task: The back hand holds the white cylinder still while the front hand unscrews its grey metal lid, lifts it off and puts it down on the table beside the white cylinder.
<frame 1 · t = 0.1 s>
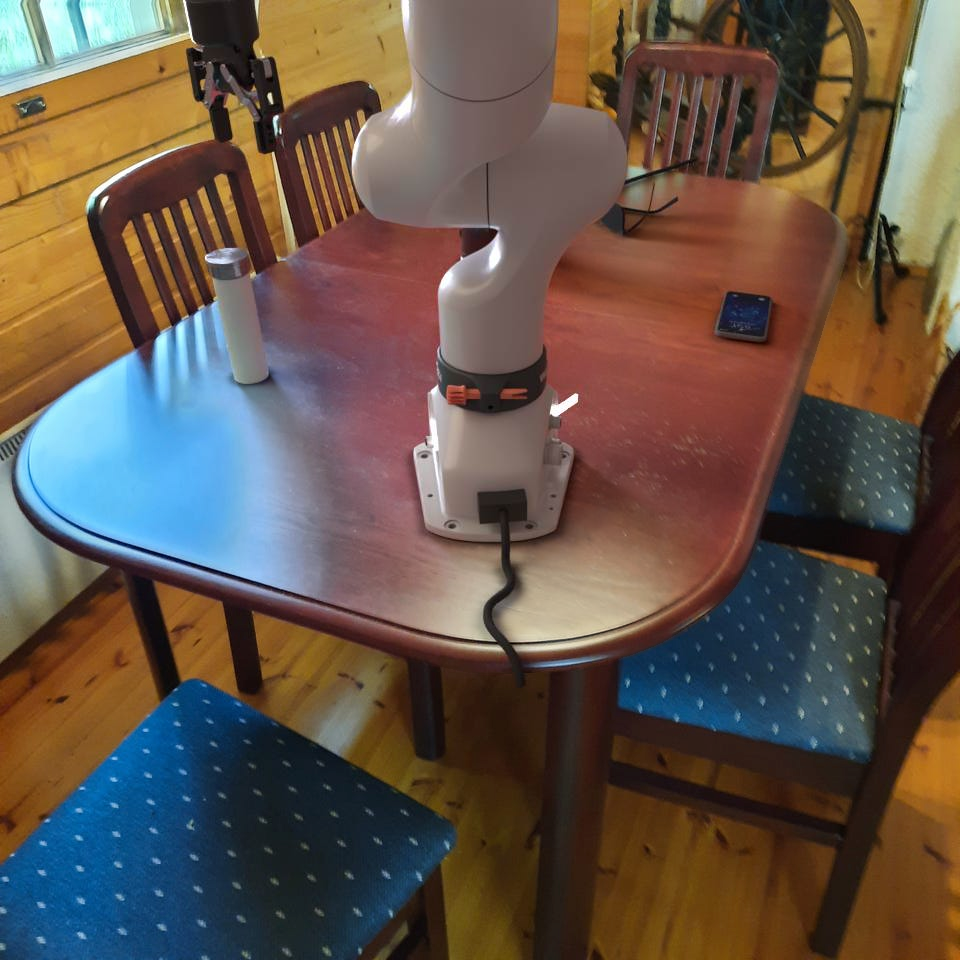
back hand: (245, 146, 103), 29 cm above the table, tool pointing down, fingers open, 8 cm apart
lid: (227, 258, 108), point 17 cm above the table, screwed on, not yet turned
smartphone: (743, 319, 128), on the table
white cylinder: (251, 375, 118), on the table
sunglasses: (633, 219, 163), on the table
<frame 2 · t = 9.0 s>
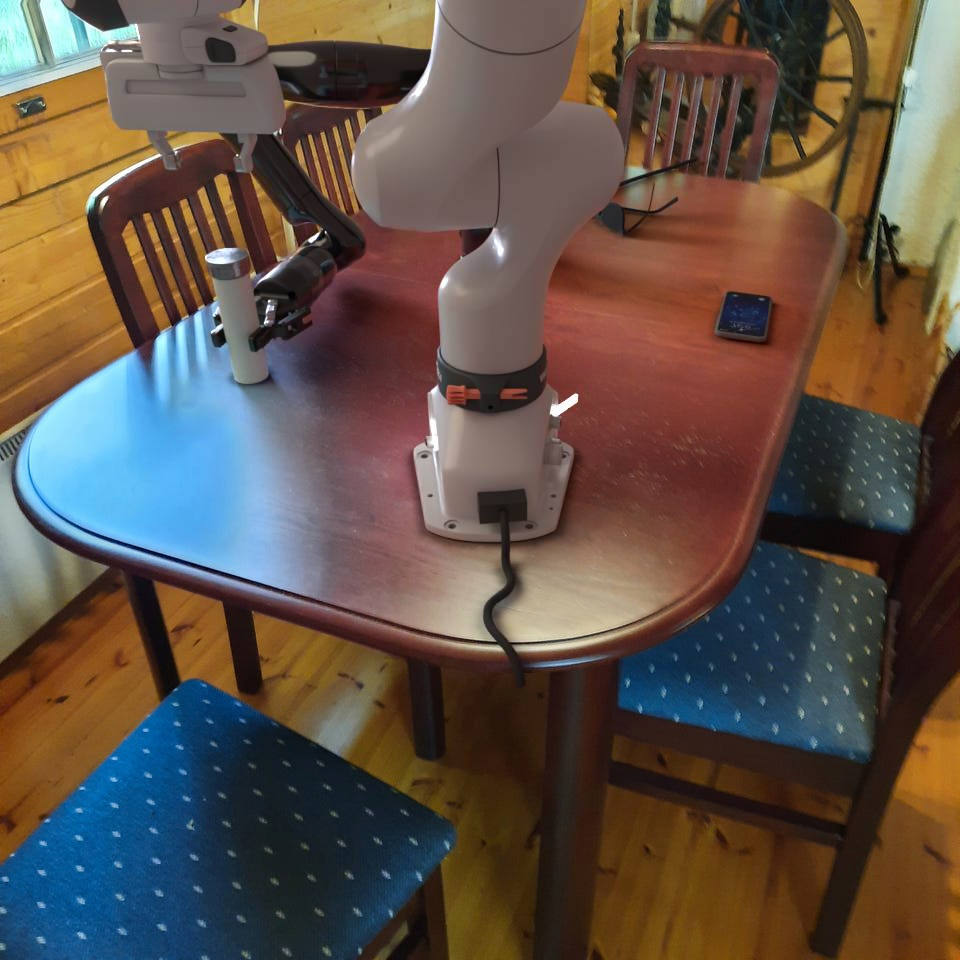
front hand: (209, 170, 101), 28 cm above the table, tool pointing down, fingers open, 8 cm apart
back hand: (233, 343, 112), 6 cm above the table, tool horizontal, fingers closed on white cylinder, 4 cm apart
white cylinder: (251, 375, 118), on the table, touching back hand
everything else where it was.
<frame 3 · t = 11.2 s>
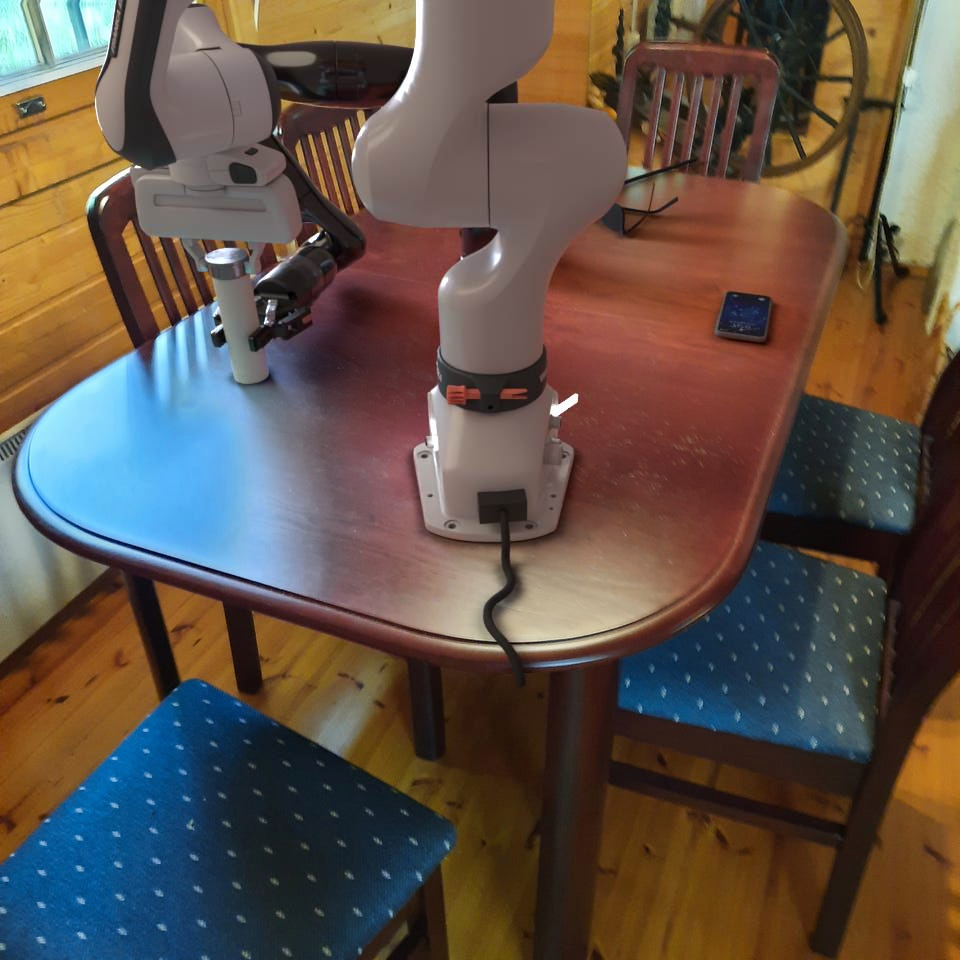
front hand: (230, 271, 109), 15 cm above the table, tool pointing down, fingers closed on lid, 5 cm apart
back hand: (233, 343, 112), 6 cm above the table, tool horizontal, fingers closed on white cylinder, 4 cm apart
lid: (227, 258, 108), point 17 cm above the table, screwed on, not yet turned, touching front hand
white cylinder: (251, 375, 118), on the table, touching back hand
everything else where it was.
when the front hand's fingers open (15 cm above the table, at t = 12.4 s): lid stays where it is, point 17 cm above the table.
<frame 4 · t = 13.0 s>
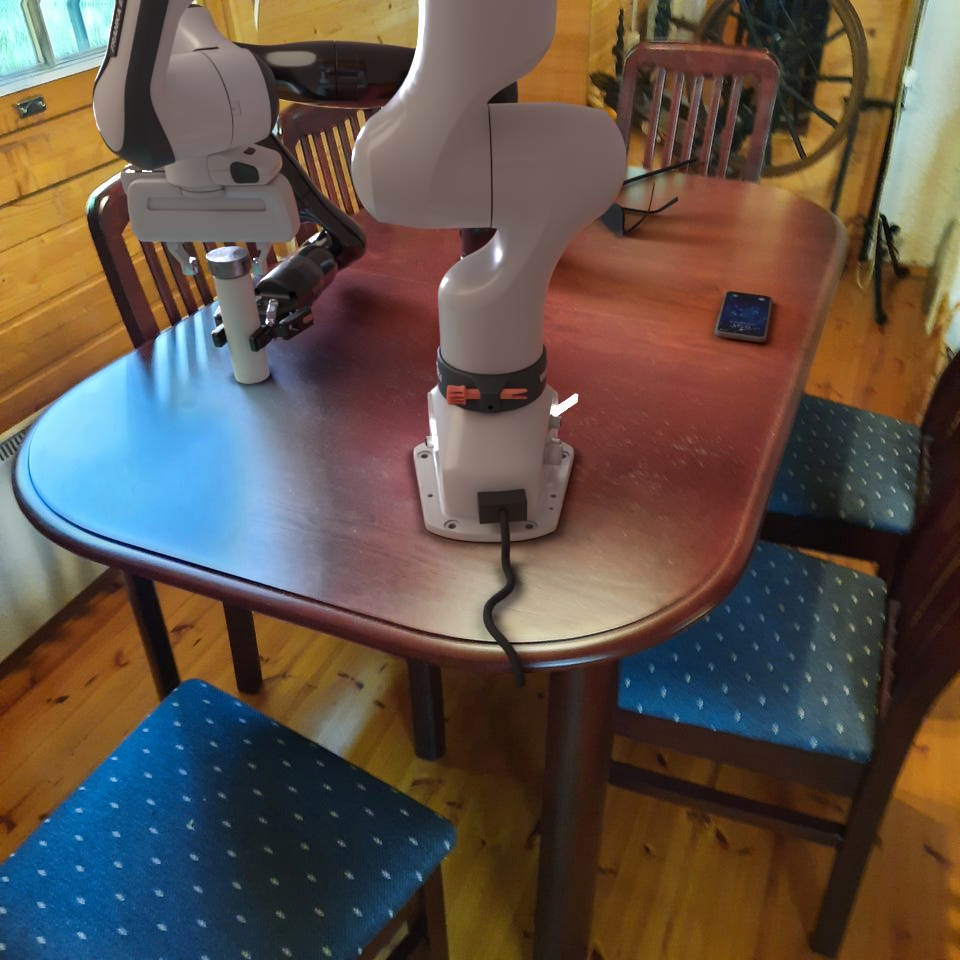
front hand: (225, 273, 108), 15 cm above the table, tool pointing down, fingers open, 8 cm apart
back hand: (234, 343, 112), 6 cm above the table, tool horizontal, fingers closed on white cylinder, 4 cm apart
lid: (228, 256, 108), point 17 cm above the table, turned 55° so far, risen 0.2 cm, still on its thread
white cylinder: (252, 375, 118), on the table, touching back hand
everything else where it was.
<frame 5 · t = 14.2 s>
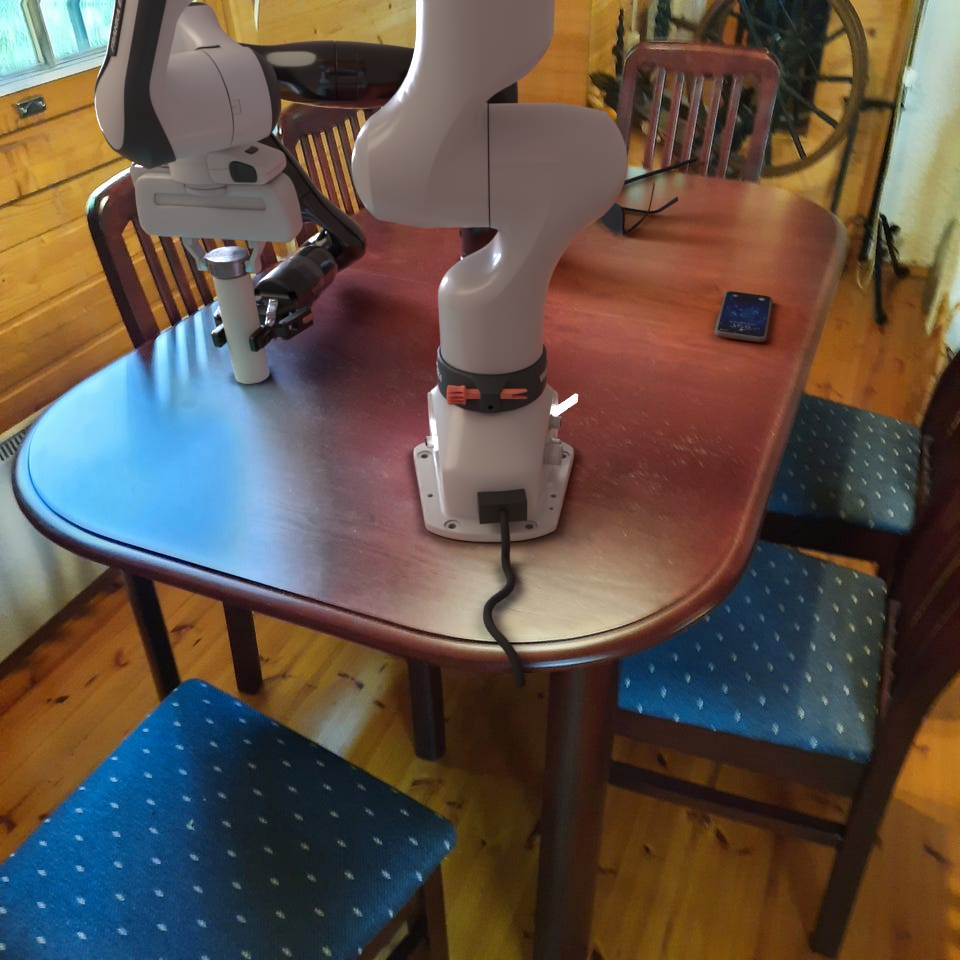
front hand: (230, 270, 109), 15 cm above the table, tool pointing down, fingers closed on lid, 5 cm apart
back hand: (234, 343, 112), 6 cm above the table, tool horizontal, fingers closed on white cylinder, 4 cm apart
lid: (227, 256, 108), point 17 cm above the table, turned 55° so far, risen 0.2 cm, still on its thread, touching front hand
white cylinder: (252, 375, 118), on the table, touching back hand
everything else where it was.
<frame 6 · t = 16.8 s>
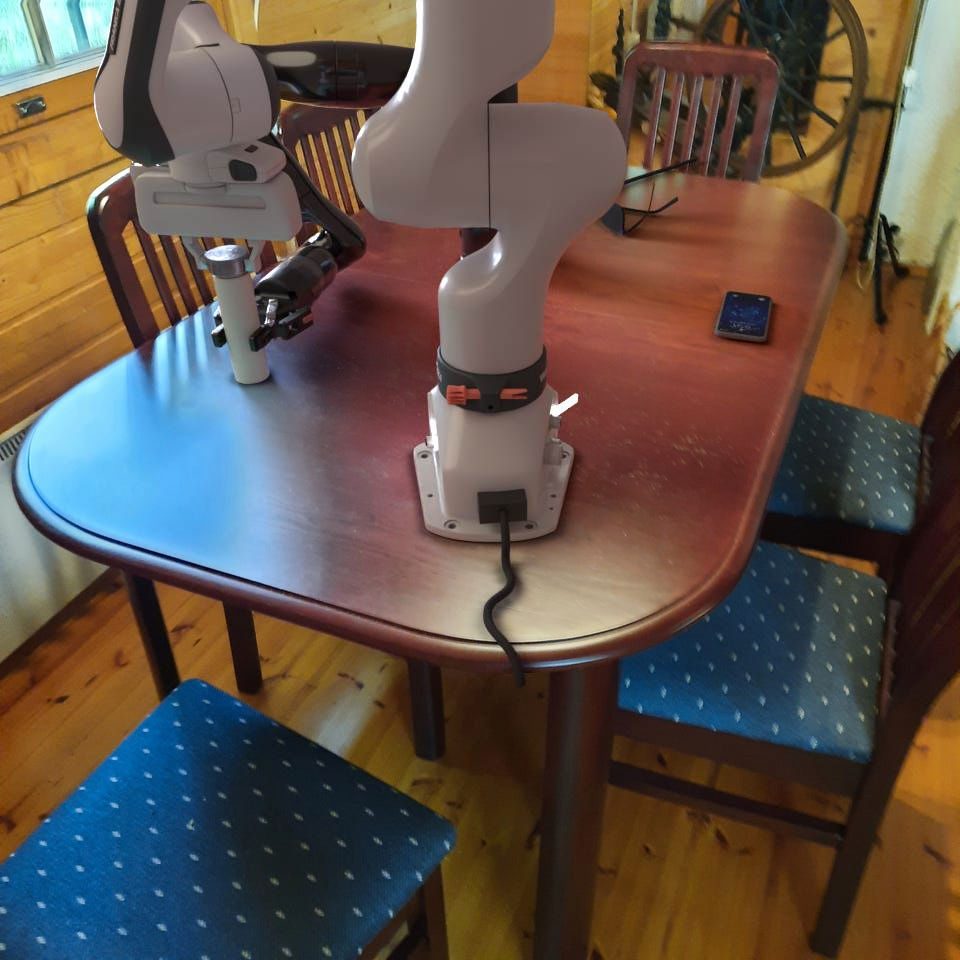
front hand: (230, 269, 108), 15 cm above the table, tool pointing down, fingers closed on lid, 5 cm apart
back hand: (234, 343, 112), 6 cm above the table, tool horizontal, fingers closed on white cylinder, 4 cm apart
lid: (227, 255, 107), point 17 cm above the table, turned 111° so far, risen 0.3 cm, still on its thread, touching front hand
white cylinder: (252, 375, 118), on the table, touching back hand
everything else where it was.
when the front hand's fingers open (2 cm above the table, at t = 23.5 s): lid drops 2 cm, point 2 cm above the table.
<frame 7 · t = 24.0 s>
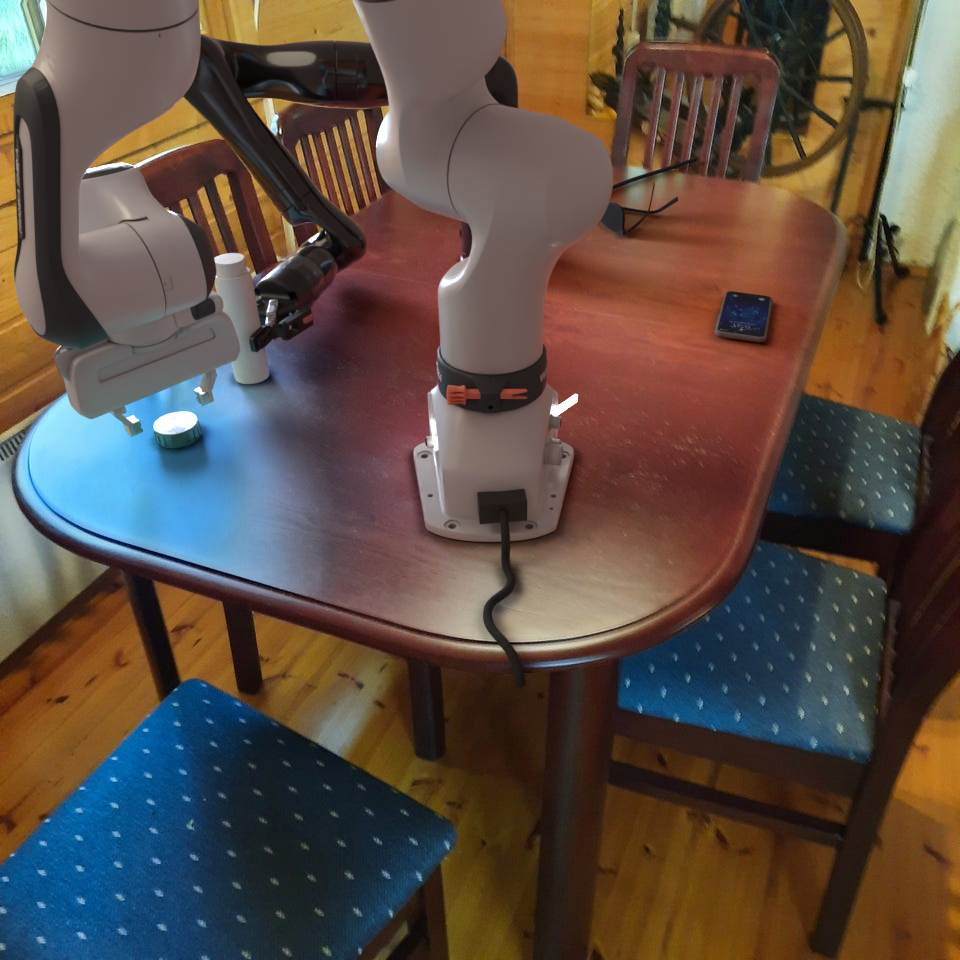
front hand: (171, 417, 104), 3 cm above the table, tool pointing down, fingers open, 8 cm apart
back hand: (234, 343, 112), 6 cm above the table, tool horizontal, fingers closed on white cylinder, 4 cm apart
lid: (176, 425, 105), point 2 cm above the table, off its thread
white cylinder: (252, 375, 118), on the table, touching back hand
everything else where it was.
when the back hand's fingers open (6 cm above the table, at t = 24.5 s): white cylinder stays where it is, on the table.
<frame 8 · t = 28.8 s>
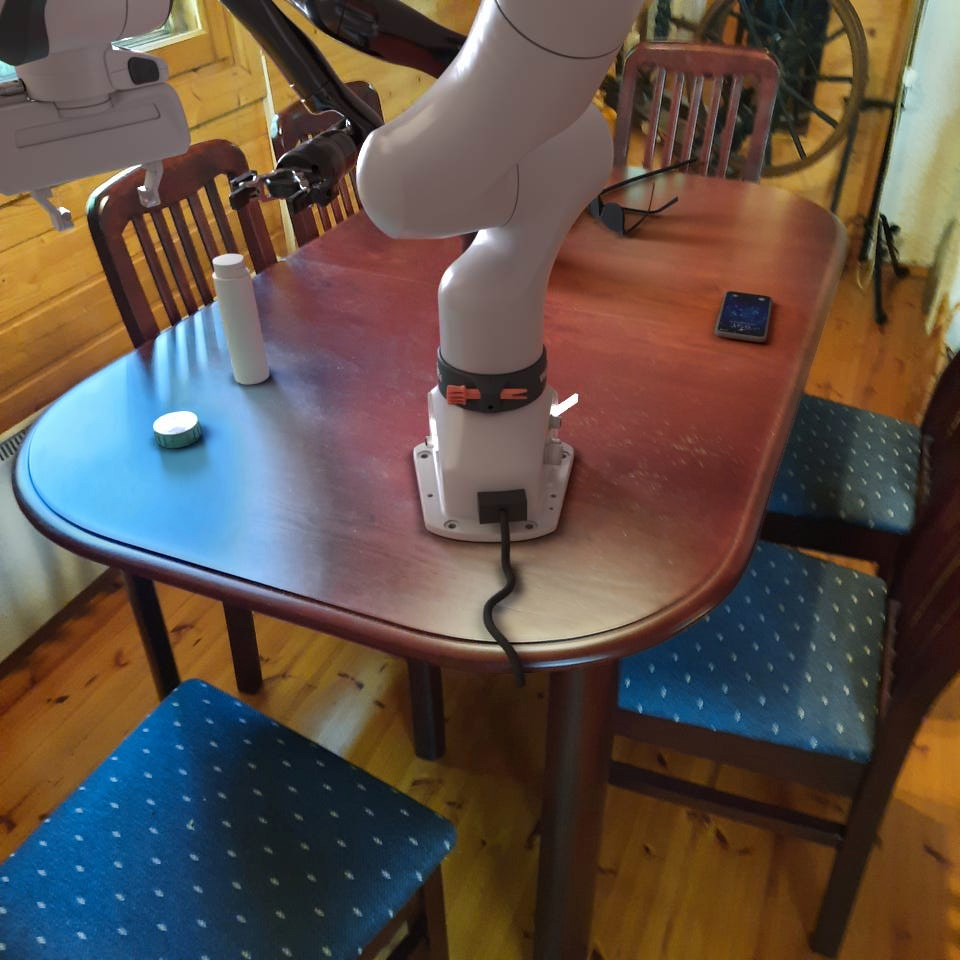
front hand: (109, 216, 88), 28 cm above the table, tool pointing down, fingers open, 8 cm apart
back hand: (261, 205, 114), 20 cm above the table, tool horizontal, fingers open, 8 cm apart
white cylinder: (252, 376, 118), on the table
everything else where it was.
at the end: lid came off its thread; lid point 1.7 cm above the table; the front hand is holding nothing; the back hand is holding nothing; white cylinder tilted 0°; white cylinder moved 0.2 cm from its start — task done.
